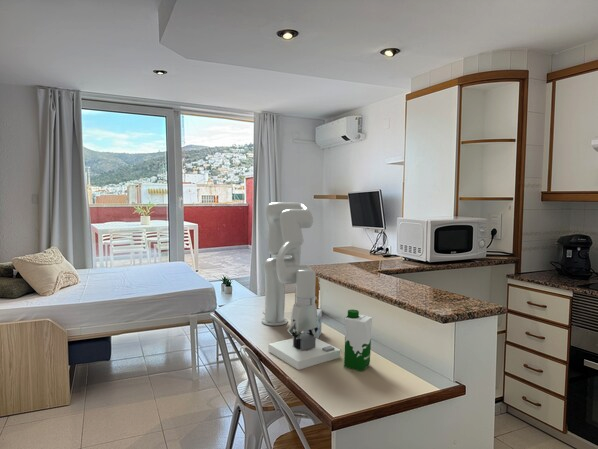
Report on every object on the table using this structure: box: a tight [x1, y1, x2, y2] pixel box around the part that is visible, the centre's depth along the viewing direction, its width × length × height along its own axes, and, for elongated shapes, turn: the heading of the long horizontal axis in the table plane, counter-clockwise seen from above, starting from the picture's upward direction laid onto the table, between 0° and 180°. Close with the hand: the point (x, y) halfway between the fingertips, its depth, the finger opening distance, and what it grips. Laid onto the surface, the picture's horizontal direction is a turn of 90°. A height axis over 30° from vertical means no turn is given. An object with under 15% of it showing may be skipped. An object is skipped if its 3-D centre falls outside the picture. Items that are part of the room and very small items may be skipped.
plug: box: [292, 332, 316, 351], centre depth 152 cm, size 6×6×6 cm
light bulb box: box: [302, 308, 323, 340], centre depth 174 cm, size 11×7×11 cm, turn 168°
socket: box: [267, 337, 342, 370], centre depth 153 cm, size 20×20×4 cm
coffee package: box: [294, 276, 320, 309], centre depth 217 cm, size 10×12×22 cm
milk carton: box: [343, 309, 373, 372], centre depth 143 cm, size 9×9×20 cm
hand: (304, 346), depth 153 cm, fingers closed on plug, 5 cm apart
